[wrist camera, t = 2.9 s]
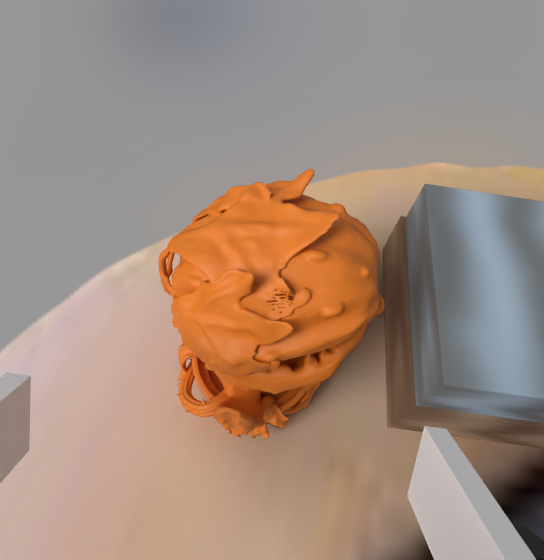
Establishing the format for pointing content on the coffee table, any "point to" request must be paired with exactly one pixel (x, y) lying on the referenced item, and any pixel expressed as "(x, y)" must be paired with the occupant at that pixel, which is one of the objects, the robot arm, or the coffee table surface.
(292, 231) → the orange figurine
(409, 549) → the coffee table surface
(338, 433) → the coffee table surface
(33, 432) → the coffee table surface
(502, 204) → the grey square block
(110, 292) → the coffee table surface
